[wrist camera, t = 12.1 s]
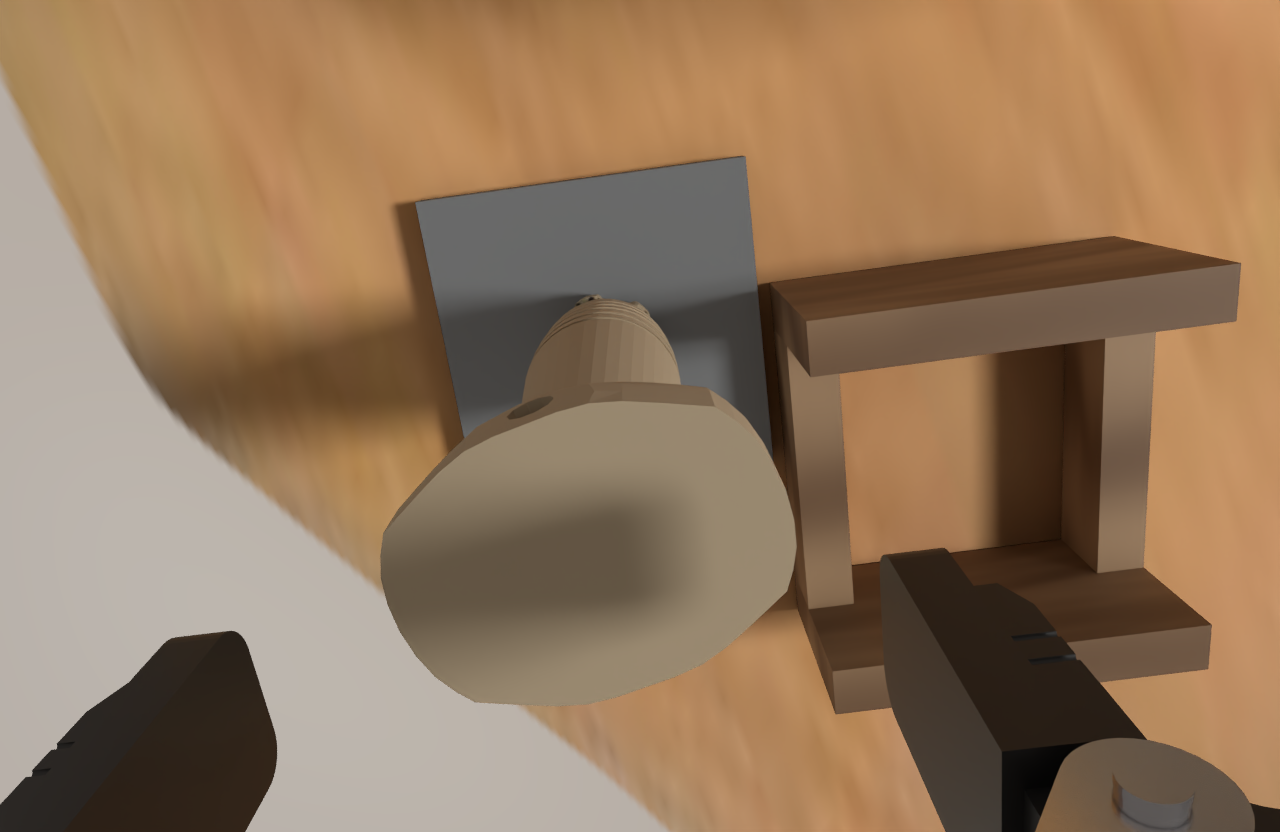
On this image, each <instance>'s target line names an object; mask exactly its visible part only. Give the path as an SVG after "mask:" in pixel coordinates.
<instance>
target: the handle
mask: <svg viewBox="0 0 1280 832" xmlns="http://www.w3.org/2000/svg"><path fill="white" fill-rule="evenodd" d="M796 548H797V545H796V534H795V523H794V517H793V513H792V510H791V506H790V503H789V499H788V495H787V492H786V489H785V487H784V484H783V482H782V480H781V478H780V476H779V474H778V471H777V469H776V467H775V465H774V463H773V461H772V459H771V457H770V455H769V453H768V451H767V449H766V447H765V445H764V443H763V441H762V440H761V438H760V437H759V435H758V434H757V433H756V431H755V430H754V428H753V427H752V426H751V424H750V423H749V421H748V420H747V419H746V418H745V416H743V415H742V414H741V413H740V412H739V411H738V410H737V409H736V408H734V407H733V406H732V405H731V404H730V403H729V402H728V401H726V400H725V399H723V398H722V397H720V396H719V395H717V394H716V393H714V392H713V391H711V390H710V389H708V388H706V387H698V386H688V385H681V382H680V375H679V370H678V366H677V362H676V359H675V355H674V352H673V350H672V348H671V346H670V344H669V342H668V340H667V338H666V336H665V334H664V333H663V331H662V330H661V328H660V327H659V326H658V324H657V323H656V322H655V321H654V320H653V319H652V318H651V317H650V314H649V312H648V310H647V309H646V308H645V307H644V306H643V305H641V304H640V303H639V302H636V301H633V302H629V303H628V302H624V301H621V300H616V299H604V298H602V297H601V296H600V295H598V294H596V295H589V296H586V297H584V298H582V299H581V300H579V301H578V302H577V303H576V304H575V307H574V308H573V309H571V310H570V311H568V312H567V313H565V314H564V315H563V316H562V317H561V318H560V319H559V320H558V321H557V322H556V323H555V324H554V325H553V326H552V328H551V329H550V330H549V332H548V333H547V334H546V336H545V337H544V338H543V340H542V341H541V343H540V345H539V347H538V349H537V350H536V352H535V354H534V357H533V359H532V361H531V364H530V366H529V369H528V373H527V376H526V380H525V386H524V392H523V398H522V403H521V404H519V405H517V406H515V407H513V408H511V409H509V410H507V411H505V412H503V413H501V414H500V415H498V416H496V417H494V418H492V419H490V420H488V421H487V422H485V423H483V424H481V425H479V426H477V427H476V428H475V429H474V430H473V431H472V432H471V433H470V434H469V435H468V436H466V437H465V438H464V439H463V440H462V441H461V442H460V443H459V444H458V445H457V446H456V447H455V448H454V449H453V450H452V451H451V452H450V453H449V454H448V455H447V456H446V457H445V458H444V459H443V460H442V461H441V462H440V463H439V464H438V465H437V466H436V467H435V468H434V469H433V471H432V472H431V473H430V474H429V475H428V476H427V477H426V478H425V479H424V481H423V482H422V483H421V484H420V485H419V486H418V487H417V488H416V490H415V491H414V492H413V493H412V494H411V495H410V496H409V498H408V499H407V500H406V501H405V502H404V503H403V505H402V506H401V507H400V508H399V509H398V511H397V512H396V514H395V515H394V517H393V518H392V520H391V522H390V523H389V525H388V527H387V528H386V530H385V531H384V533H383V541H382V548H381V581H382V584H383V588H384V592H385V596H386V600H387V604H388V606H389V609H390V611H391V613H392V615H393V618H394V620H395V622H396V624H397V626H398V629H399V631H400V633H401V634H402V636H403V637H404V639H405V640H406V642H407V643H408V645H409V646H410V648H411V649H412V651H413V652H414V654H415V655H416V657H417V658H418V659H419V660H420V661H421V662H422V663H423V664H424V665H425V666H426V667H427V669H428V670H429V671H430V672H431V673H432V674H433V675H434V676H435V677H436V678H437V679H439V680H440V681H442V682H443V683H444V684H446V685H447V686H448V687H450V688H452V689H453V690H454V691H456V692H457V693H459V694H461V695H463V696H465V697H466V698H468V699H470V700H472V701H474V702H480V703H497V704H514V705H537V706H570V705H585V704H592V703H596V702H600V701H604V700H608V699H612V698H616V697H619V696H622V695H625V694H627V693H630V692H633V691H636V690H639V689H642V688H645V687H647V686H650V685H653V684H656V683H659V682H662V681H665V680H668V679H670V678H673V677H676V676H678V675H680V674H682V673H685V672H687V671H689V670H691V669H693V668H696V667H698V666H700V665H702V664H704V663H705V662H706V661H708V660H709V659H711V658H712V657H713V656H715V655H716V654H718V653H719V652H720V651H722V650H723V649H725V648H726V647H727V646H728V645H730V644H731V643H732V642H733V641H734V640H735V639H736V638H737V637H738V636H740V635H741V634H742V633H743V632H744V631H745V630H746V629H747V628H749V627H750V626H751V625H752V624H753V623H754V622H755V621H756V620H757V619H758V618H759V617H760V616H761V615H763V614H764V613H765V612H766V611H767V610H768V609H769V608H770V607H771V606H772V605H773V604H774V603H775V602H776V601H777V600H778V599H779V598H781V597H782V596H783V595H784V594H785V593H786V592H787V590H788V586H789V583H790V580H791V576H792V573H793V569H794V562H795V555H796Z"/></svg>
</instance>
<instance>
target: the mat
mask: <svg viewBox="0 0 1280 832" xmlns="http://www.w3.org/2000/svg"><path fill="white" fill-rule="evenodd" d="M415 204H416V209H417V214H418V219H419V224H420V228H421V233H422V238H423V243H424V248H425V252H426V257H427V262H428V267H429V272H430V276H431V281H432V286H433V291H434V296H435V301H436V305H437V310H438V315H439V320H440V325H441V329H442V334H443V339H444V344H445V349H446V354H447V358H448V363H449V368H450V373H451V378H452V382H453V387H454V392H455V397H456V402H457V406H458V411H459V416H460V421H461V426H462V431H463V435H464V438H465V437H466V436H468V435H469V434H470V433H471V432H472V431H473V430H474V429H475V428H476V427H477V426H479V425H481V424H483V423H485V422H487V421H488V420H490V419H492V418H494V417H496V416H498V415H500V414H501V413H503V412H505V411H507V410H509V409H511V408H513V407H515V406H517V405H519V404H521V403H522V398H523V392H524V386H525V380H526V376H527V373H528V369H529V366H530V364H531V361H532V359H533V357H534V354H535V352H536V350H537V349H538V347H539V345H540V343H541V341H542V340H543V338H544V337H545V336H546V334H547V333H548V332H549V330H550V329H551V328H552V326H553V325H554V324H555V323H556V322H557V321H558V320H559V319H560V318H561V317H562V316H563V315H564V314H565V313H567V312H568V311H570V310H571V309H573V308H574V307H575V304H576V303H577V302H578V301H579V300H581V299H582V298H584V297H586V296H589V295H596V294H598V295H600V296H601V297H602V298H604V299H616V300H621V301H624V302H628V303H629V302H633V301H636V302H639V303H640V304H641V305H643V306H644V307H645V308H646V309H647V310H648V312H649V314H650V317H651V318H652V319H653V320H654V321H655V322H656V323H657V324H658V326H659V327H660V328H661V330H662V331H663V333H664V334H665V336H666V338H667V340H668V342H669V344H670V346H671V348H672V350H673V352H674V355H675V359H676V362H677V366H678V370H679V375H680V382H681V385H688V386H698V387H706V388H708V389H710V390H711V391H713V392H714V393H716V394H717V395H719V396H720V397H722V398H723V399H725V400H726V401H728V402H729V403H730V404H731V405H732V406H733V407H734V408H736V409H737V410H738V411H739V412H740V413H741V414H742V415H743V416H745V418H746V419H747V420H748V421H749V423H750V424H751V426H752V427H753V428H754V430H755V431H756V433H757V434H758V435H759V437H760V438H761V440H762V441H763V443H764V445H765V447H766V449H767V451H768V453H769V455H770V457H771V459H772V461H773V452H772V441H771V430H770V419H769V408H768V397H767V387H766V376H765V365H764V354H763V343H762V332H761V321H760V310H759V299H758V288H757V277H756V266H755V255H754V244H753V233H752V223H751V212H750V201H749V190H748V179H747V168H746V157H745V156H738V157H731V158H723V159H716V160H709V161H702V162H695V163H687V164H680V165H673V166H666V167H659V168H651V169H644V170H637V171H630V172H622V173H615V174H608V175H601V176H594V177H586V178H579V179H572V180H565V181H558V182H550V183H543V184H536V185H529V186H522V187H514V188H507V189H500V190H493V191H486V192H478V193H471V194H464V195H457V196H449V197H442V198H435V199H428V200H421V201H418V202H415Z"/></svg>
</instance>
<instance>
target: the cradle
mask: <svg viewBox="0 0 1280 832" xmlns="http://www.w3.org/2000/svg"><path fill="white" fill-rule="evenodd" d="M1240 270H1241V263H1238V262H1233V261H1228V260H1224V259H1219V258H1214V257H1209V256H1205V255H1200V254H1195V253H1191V252H1186V251H1181V250H1177V249H1172V248H1167V247H1163V246H1158V245H1153V244H1148V243H1144V242H1139V241H1134V240H1130V239H1125V238H1120V237H1116V236H1112V237H1105V238H1098V239H1090V240H1083V241H1075V242H1068V243H1060V244H1053V245H1046V246H1038V247H1031V248H1023V249H1016V250H1009V251H1001V252H994V253H986V254H979V255H971V256H964V257H957V258H949V259H942V260H934V261H927V262H920V263H912V264H905V265H897V266H890V267H882V268H875V269H868V270H860V271H853V272H845V273H838V274H830V275H823V276H816V277H808V278H801V279H793V280H786V281H779V282H771V283H770V294H771V306H772V317H773V329H774V340H775V352H776V363H777V375H778V386H779V398H780V409H781V421H782V432H783V444H784V455H785V467H786V478H787V490H788V499H789V503H790V506H791V510H792V513H793V517H794V523H795V534H796V545H797V548H796V555H795V562H794V570H795V581H796V593H797V604H798V611H799V614H800V617H801V619H802V622H803V625H804V628H805V631H806V633H807V636H808V639H809V642H810V644H811V647H812V650H813V653H814V655H815V658H816V661H817V664H818V667H819V669H820V672H821V675H822V678H823V680H824V683H825V686H826V689H827V692H828V694H829V697H830V700H831V703H832V705H833V708H834V711H835V714H843V713H852V712H860V711H868V710H876V709H884V708H892V706H891V702H890V698H889V694H888V689H887V684H886V678H885V670H884V656H883V635H882V614H881V594H880V562H878V563H870V564H862V565H854V566H852V565H851V550H850V534H849V519H848V503H847V488H846V472H845V456H844V441H843V425H842V410H841V394H840V378H839V374H840V373H848V372H855V371H863V370H871V369H878V368H886V367H893V366H901V365H909V364H916V363H924V362H931V361H939V360H946V359H954V358H962V357H969V356H977V355H984V354H992V353H1000V352H1007V351H1015V350H1022V349H1030V348H1038V347H1045V346H1053V345H1060V344H1065V369H1064V422H1063V474H1062V527H1061V540H1053V541H1045V542H1037V543H1029V544H1021V545H1013V546H1005V547H997V548H989V549H981V550H973V551H965V552H957V553H950V554H951V556H952V557H953V558H954V560H955V561H956V562H957V564H958V565H959V566H960V568H961V569H962V571H963V572H964V573H965V575H966V576H967V577H968V579H969V580H970V581H971V583H972V584H973V586H976V585H984V584H993V583H998V584H1000V585H1002V586H1003V587H1005V588H1007V589H1009V590H1010V591H1012V592H1014V593H1016V594H1018V595H1019V596H1021V597H1023V598H1025V599H1026V600H1028V601H1030V602H1032V603H1033V604H1035V606H1036V607H1037V608H1038V609H1039V610H1040V612H1041V613H1042V614H1043V615H1044V616H1045V618H1046V619H1047V620H1048V621H1049V622H1050V624H1051V625H1052V626H1053V627H1054V628H1055V630H1056V631H1057V636H1058V637H1060V636H1061V637H1062V638H1063V639H1064V641H1065V642H1066V643H1067V644H1068V645H1069V647H1070V648H1071V649H1072V650H1073V651H1074V653H1075V654H1076V659H1077V660H1081V661H1082V662H1083V663H1084V665H1085V666H1086V667H1087V668H1088V669H1089V671H1090V672H1091V673H1092V674H1093V675H1094V677H1095V678H1096V679H1097V680H1098V681H1099V682H1107V681H1115V680H1123V679H1131V678H1139V677H1148V676H1156V675H1164V674H1172V673H1181V672H1189V671H1197V670H1205V669H1208V665H1209V653H1210V641H1211V628H1212V625H1211V624H1210V623H1209V622H1208V621H1207V620H1205V619H1204V618H1203V617H1202V616H1201V615H1199V614H1198V613H1197V612H1196V611H1195V610H1193V609H1192V608H1191V607H1190V606H1189V605H1187V604H1186V603H1185V602H1184V601H1183V600H1182V599H1180V598H1179V597H1178V596H1177V595H1176V594H1174V593H1173V592H1172V591H1171V590H1170V589H1168V588H1167V587H1166V586H1165V585H1164V584H1163V583H1161V582H1160V581H1159V580H1158V579H1157V578H1155V577H1154V576H1153V575H1152V574H1151V573H1149V572H1148V571H1147V570H1146V569H1145V568H1144V548H1145V529H1146V510H1147V491H1148V471H1149V452H1150V433H1151V414H1152V394H1153V375H1154V356H1155V337H1156V332H1159V331H1167V330H1174V329H1182V328H1189V327H1197V326H1204V325H1212V324H1220V323H1227V322H1235V321H1236V320H1237V307H1238V295H1239V283H1240Z"/></svg>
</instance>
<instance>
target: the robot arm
mask: <svg viewBox="0 0 1280 832" xmlns="http://www.w3.org/2000/svg"><path fill="white" fill-rule="evenodd" d="M880 594H881V614H882V635H883V656H884V670H885V678H886V684H887V689H888V694H889V698H890V702H891V706H892V709H893V712H894V715H895V718H896V720H897V722H898V725H899V727H900V729H901V731H902V734H903V736H904V738H905V740H906V743H907V745H908V747H909V750H910V752H911V754H912V756H913V759H914V761H915V763H916V765H917V768H918V770H919V772H920V775H921V777H922V779H923V781H924V784H925V786H926V788H927V790H928V793H929V795H930V797H931V800H932V802H933V804H934V806H935V809H936V811H937V813H938V815H939V818H940V820H941V822H942V825H943V827H944V829H945V831H946V832H1280V809H1275V808H1269V807H1263V806H1259V805H1255V804H1252V803H1249V801H1248V799H1247V798H1246V796H1245V794H1244V793H1243V792H1242V790H1241V789H1240V788H1239V787H1238V786H1237V785H1236V783H1235V782H1233V781H1232V780H1231V779H1230V778H1229V777H1228V776H1227V775H1226V774H1224V773H1223V772H1222V771H1220V770H1219V769H1217V768H1216V767H1215V766H1213V765H1212V764H1210V763H1208V762H1207V761H1205V760H1203V759H1201V758H1199V757H1197V756H1196V755H1193V754H1191V753H1189V752H1186V751H1184V750H1182V749H1179V748H1176V747H1173V746H1170V745H1167V744H1163V743H1158V742H1154V741H1150V740H1147V739H1146V738H1145V737H1144V735H1143V734H1142V733H1141V732H1140V731H1139V729H1138V728H1137V727H1136V726H1135V725H1134V723H1133V722H1132V721H1131V720H1130V719H1129V717H1128V716H1127V715H1126V714H1125V713H1124V711H1123V710H1122V709H1121V708H1120V707H1119V705H1118V704H1117V703H1116V702H1115V701H1114V699H1113V698H1112V697H1111V696H1110V695H1109V693H1108V692H1107V691H1106V690H1105V689H1104V687H1103V686H1102V685H1101V684H1100V683H1099V681H1098V680H1097V679H1096V678H1095V677H1094V675H1093V674H1092V673H1091V672H1090V671H1089V669H1088V668H1087V667H1086V666H1085V665H1084V663H1083V662H1082V661H1081V660H1077V659H1076V654H1075V653H1074V651H1073V650H1072V649H1071V648H1070V647H1069V645H1068V644H1067V643H1066V642H1065V641H1064V639H1063V638H1062V637H1061V636H1060V637H1058V636H1057V631H1056V630H1055V628H1054V627H1053V626H1052V625H1051V624H1050V622H1049V621H1048V620H1047V619H1046V618H1045V616H1044V615H1043V614H1042V613H1041V612H1040V610H1039V609H1038V608H1037V607H1036V606H1035V604H1033V603H1032V602H1030V601H1028V600H1026V599H1025V598H1023V597H1021V596H1019V595H1018V594H1016V593H1014V592H1012V591H1010V590H1009V589H1007V588H1005V587H1003V586H1002V585H1000V584H998V583H993V584H984V585H976V586H973V584H972V583H971V581H970V580H969V579H968V577H967V576H966V575H965V573H964V572H963V571H962V569H961V568H960V566H959V565H958V564H957V562H956V561H955V560H954V558H953V557H952V556H951V554H950V553H949V552H948V551H947V550H946V549H945V548H937V549H929V550H921V551H912V552H904V553H895V554H887V555H883V556H882V557H881V561H880ZM276 761H277V741H276V736H275V731H274V728H273V725H272V721H271V718H270V715H269V712H268V709H267V706H266V702H265V699H264V696H263V693H262V690H261V687H260V683H259V680H258V677H257V674H256V671H255V668H254V665H253V662H252V658H251V655H250V652H249V649H248V646H247V644H246V642H245V640H244V639H243V637H242V636H241V635H240V634H239V633H237V632H235V631H226V632H218V633H209V634H201V635H192V636H184V637H175V638H171V639H170V640H168V641H166V643H164V644H163V645H162V646H161V648H160V649H159V650H158V651H157V652H156V653H155V654H154V655H153V656H152V657H151V659H150V660H149V661H148V662H147V663H146V664H145V665H144V666H143V667H142V668H141V670H140V671H139V672H138V673H137V674H136V675H135V676H134V678H133V679H132V680H131V681H130V682H129V683H127V684H126V685H125V686H123V687H122V688H120V689H119V690H117V691H116V692H114V693H113V694H112V695H110V696H109V697H107V698H106V699H104V700H103V701H102V702H100V703H99V704H97V705H96V706H94V707H93V708H91V709H90V710H89V711H87V712H86V713H85V714H84V715H83V716H82V717H81V718H80V720H79V721H78V722H77V723H76V724H75V725H74V726H73V727H72V728H71V729H70V730H69V731H68V732H67V733H66V735H65V736H64V737H63V738H62V739H61V740H60V741H59V742H58V743H57V749H56V750H51V751H50V752H49V753H48V754H47V755H46V756H45V757H44V758H43V759H42V760H41V761H40V763H39V764H38V765H37V766H36V767H35V768H34V769H33V770H32V772H33V774H32V777H26V778H25V779H24V780H23V781H22V782H21V783H20V784H19V785H18V786H17V787H16V788H15V789H14V791H13V792H12V793H11V794H10V795H9V796H8V797H7V798H6V799H5V800H4V801H3V802H2V803H1V804H0V832H245V831H246V829H247V827H248V826H249V824H250V822H251V820H252V818H253V817H254V815H255V813H256V811H257V809H258V807H259V806H260V804H261V802H262V800H263V798H264V796H265V795H266V793H267V791H268V789H269V787H270V785H271V783H272V780H273V777H274V773H275V769H276Z"/></svg>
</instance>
